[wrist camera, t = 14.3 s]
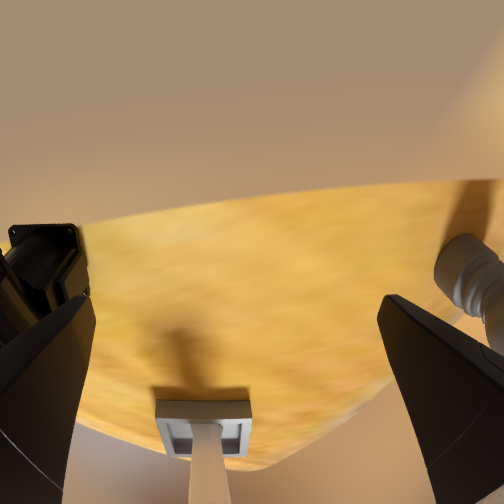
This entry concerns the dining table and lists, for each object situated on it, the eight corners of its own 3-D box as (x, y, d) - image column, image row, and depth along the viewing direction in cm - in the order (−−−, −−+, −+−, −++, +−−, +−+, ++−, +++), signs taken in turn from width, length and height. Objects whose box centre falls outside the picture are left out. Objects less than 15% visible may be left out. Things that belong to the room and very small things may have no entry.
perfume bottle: (230, 420, 32) (242, 543, 19) (221, 437, 34) (230, 549, 21) (189, 416, 31) (190, 543, 18) (184, 434, 33) (185, 547, 20)
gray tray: (168, 441, 35) (167, 456, 33) (156, 399, 30) (154, 417, 28) (245, 441, 36) (247, 456, 34) (250, 400, 32) (252, 418, 29)
